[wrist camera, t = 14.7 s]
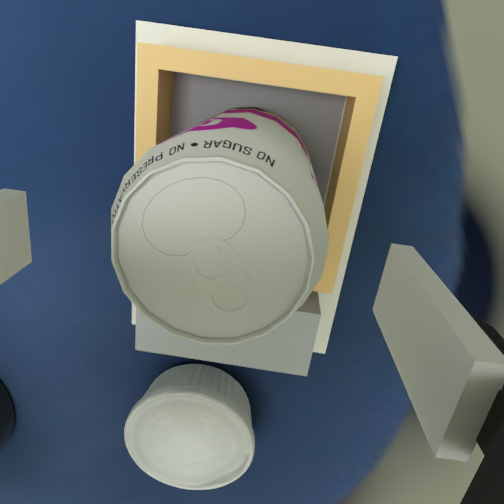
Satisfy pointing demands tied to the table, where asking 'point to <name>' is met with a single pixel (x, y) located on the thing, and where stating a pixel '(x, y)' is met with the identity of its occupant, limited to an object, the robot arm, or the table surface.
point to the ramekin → (192, 428)
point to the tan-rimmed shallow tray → (310, 131)
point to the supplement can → (221, 228)
